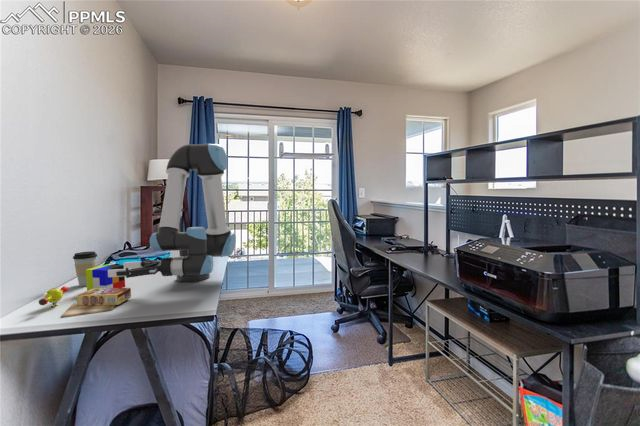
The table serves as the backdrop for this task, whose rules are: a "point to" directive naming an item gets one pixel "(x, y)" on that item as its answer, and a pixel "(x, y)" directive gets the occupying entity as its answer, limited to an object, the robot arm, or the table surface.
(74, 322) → the table surface
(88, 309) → the cork mat
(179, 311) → the table surface
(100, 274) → the puzzle toy
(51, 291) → the toy figure
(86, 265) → the coffee cup
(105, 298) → the candy box
